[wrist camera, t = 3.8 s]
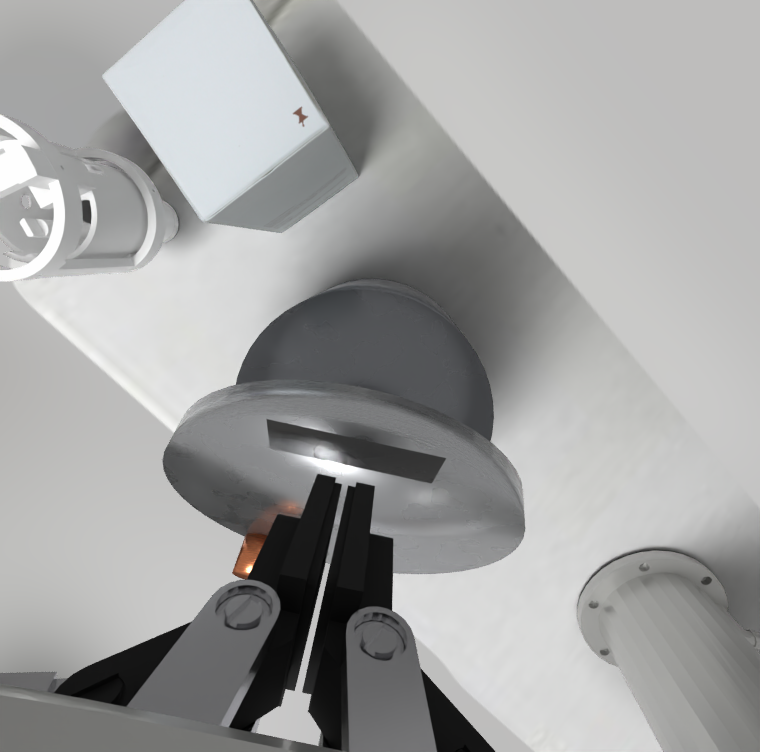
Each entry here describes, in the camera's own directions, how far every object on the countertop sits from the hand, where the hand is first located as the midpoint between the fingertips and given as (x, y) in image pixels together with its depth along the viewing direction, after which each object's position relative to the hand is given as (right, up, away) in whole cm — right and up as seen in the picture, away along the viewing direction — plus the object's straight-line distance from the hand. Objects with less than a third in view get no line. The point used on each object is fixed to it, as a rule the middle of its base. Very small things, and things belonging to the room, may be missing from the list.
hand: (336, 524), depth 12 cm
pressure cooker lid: (0, -1, +8) cm, 9 cm away
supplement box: (-5, +19, +19) cm, 27 cm away
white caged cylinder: (-15, +16, +20) cm, 30 cm away
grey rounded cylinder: (+1, +4, +22) cm, 23 cm away
